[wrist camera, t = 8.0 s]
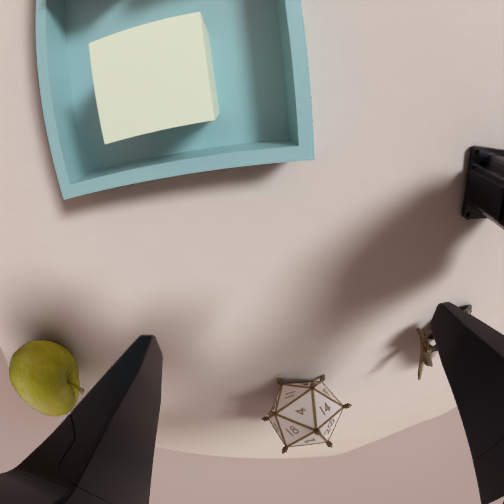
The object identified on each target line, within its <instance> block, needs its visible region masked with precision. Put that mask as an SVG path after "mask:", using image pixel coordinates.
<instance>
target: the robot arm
mask: <svg viewBox="0 0 504 504" xmlns="http://www.w3.org/2000/svg"><path fill="white" fill-rule="evenodd" d="M475 152H476V153H475ZM462 217H463V218H465V219H467V220H468V219H478V218H489V219H490V220H492V221H493V222H494V223H496V224H497V225H498V226H500V227H501V228H502V229H504V150H503V149H496V148H490V147H482V146H473V147H472V148H471V151H470V162H469V170H468V178H467V185H466V192H465V198H464V204H463V209H462ZM431 330H432V333H433V336H434V339H435V342H436V345H437V349H438V352H439V355H440V359H441V362H442V365H443V368H444V371H445V373H446V376H447V379H448V381H449V384H450V387H451V389H452V392H453V395H454V398H455V401H456V404H457V407H458V410H459V413H460V416H461V419H462V422H463V426H464V429H465V432H466V436H467V439H468V443H469V447H470V451H471V455H472V459H473V464H474V468H475V472H476V477H477V482H478V487H479V493H480V499H481V504H489V503H491V502H493V501H495V500H497V499H499V498H501V497H503V496H504V335H503V334H501V333H499V332H498V331H496V330H495V329H493V328H491V327H490V326H488V325H487V324H485V323H483V322H482V321H480V320H479V319H477V318H475V317H474V316H472V315H470V314H469V313H467V312H465V311H464V310H462V309H460V308H459V307H457V306H455V305H454V304H452V303H450V302H444V303H440V304H439V305H438V306H437V308H436V310H435V313H434V315H433V318H432V320H431ZM162 362H163V357H162V352H161V350H160V347H159V345H158V342H157V340H156V338H155V336H154V335H140V336H139V337H138V338H137V339H136V340H135V341H134V343H133V344H132V345H131V346H130V347H129V348H128V349H127V350H126V351H125V352H124V353H123V355H122V356H121V357H120V358H119V359H118V360H117V361H116V362H115V363H114V364H113V366H112V367H111V368H110V369H109V370H108V371H107V372H106V373H105V374H104V376H103V377H102V378H101V379H100V380H99V381H98V382H97V383H96V385H95V386H94V387H93V388H92V389H91V390H90V391H89V392H88V394H87V395H86V396H85V397H84V398H83V399H82V400H81V401H80V403H79V404H78V405H77V406H76V407H75V408H74V409H73V411H72V412H71V414H69V415H68V416H67V417H66V418H65V420H64V421H63V422H62V423H61V424H60V425H59V426H58V427H57V428H56V430H55V431H54V432H53V433H52V434H51V435H50V436H49V437H48V438H47V439H46V440H45V441H44V442H43V443H42V444H41V445H40V446H39V447H37V448H36V449H35V450H34V451H33V452H32V453H31V454H30V455H29V456H28V457H27V458H26V459H25V460H24V461H22V463H21V464H19V465H18V466H17V467H15V468H14V469H12V470H10V471H8V472H5V473H1V474H0V504H149V496H150V485H151V475H152V465H153V457H154V448H155V441H156V433H157V426H158V419H159V412H160V404H161V382H162ZM503 504H504V502H503Z"/></svg>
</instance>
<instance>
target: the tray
mask: <svg viewBox="0 0 504 504" xmlns="http://www.w3.org/2000/svg"><path fill="white" fill-rule="evenodd" d="M195 12H200V13H201V15H202V18H203V20H204V23H205V26H206V28H207V31H208V33H209V39H210V47H211V54H212V62H213V69H214V77H215V84H216V92H217V99H218V106H219V115H218V116H217V118H216V119H215V120H213V121H207V122H201V123H195V124H189V125H184V126H179V127H174V128H169V129H164V130H160V131H155V132H151V133H146V134H142V135H138V136H134V137H130V138H126V139H123V140H119V141H115V142H112V143H108V144H105V143H104V138H103V134H102V129H101V124H100V119H99V113H98V108H97V102H96V96H95V90H94V83H93V76H92V69H91V61H90V51H89V43H91V42H93V41H96V40H98V39H101V38H104V37H106V36H109V35H112V34H115V33H118V32H121V31H124V30H127V29H130V28H133V27H136V26H140V25H143V24H147V23H150V22H154V21H158V20H162V19H166V18H170V17H175V16H180V15H184V14H190V13H195ZM36 54H37V68H38V78H39V87H40V95H41V102H42V109H43V115H44V121H45V126H46V131H47V136H48V141H49V146H50V150H51V154H52V159H53V163H54V167H55V171H56V174H57V178H58V182H59V185H60V189H61V192H62V196H63V199H64V200H65V199H69V198H73V197H77V196H81V195H85V194H89V193H93V192H97V191H102V190H106V189H111V188H115V187H120V186H125V185H129V184H134V183H139V182H144V181H150V180H155V179H161V178H166V177H172V176H178V175H184V174H190V173H197V172H204V171H211V170H218V169H225V168H233V167H242V166H250V165H260V164H270V163H281V162H292V161H306V160H314V138H313V119H312V104H311V90H310V78H309V67H308V57H307V47H306V38H305V30H304V22H303V14H302V7H301V0H36Z"/></svg>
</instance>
